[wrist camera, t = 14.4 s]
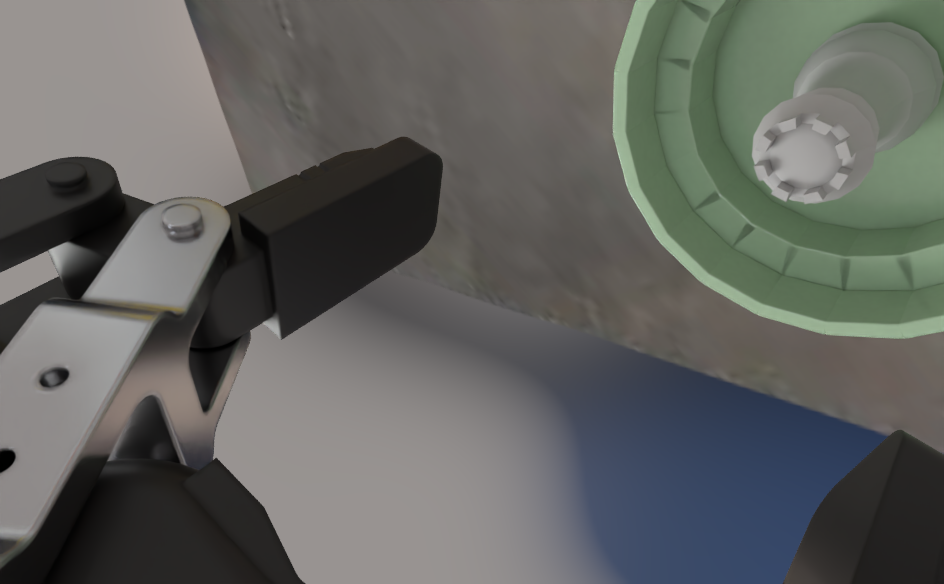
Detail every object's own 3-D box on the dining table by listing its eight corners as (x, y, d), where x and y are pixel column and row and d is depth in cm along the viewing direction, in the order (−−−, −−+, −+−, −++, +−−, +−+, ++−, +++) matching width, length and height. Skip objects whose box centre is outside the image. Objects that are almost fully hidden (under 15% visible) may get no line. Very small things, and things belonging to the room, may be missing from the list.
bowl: (776, -231, 20) (709, -240, 17) (1393, -98, 15) (1478, -70, 11) (629, 164, 31) (570, 208, 28) (953, 333, 25) (929, 414, 22)
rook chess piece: (945, 3, 20) (891, 65, 15) (947, 138, 22) (898, 234, 17) (795, 35, 23) (709, 96, 18) (806, 151, 25) (731, 236, 20)
